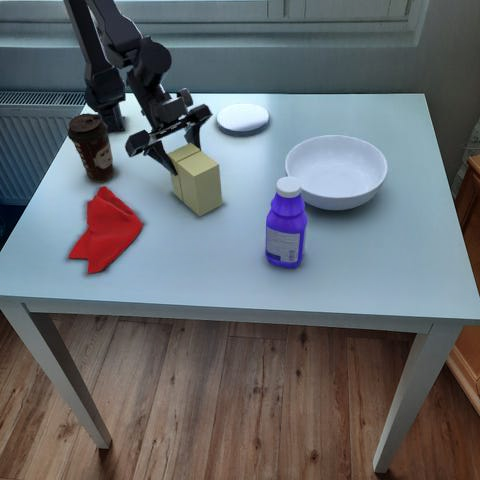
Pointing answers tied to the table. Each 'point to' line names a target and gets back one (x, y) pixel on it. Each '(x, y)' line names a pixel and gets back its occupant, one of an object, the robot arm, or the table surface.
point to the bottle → (286, 225)
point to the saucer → (243, 119)
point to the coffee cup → (92, 146)
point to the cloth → (106, 230)
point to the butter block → (200, 183)
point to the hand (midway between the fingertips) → (189, 169)
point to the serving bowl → (337, 171)
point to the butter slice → (176, 157)
